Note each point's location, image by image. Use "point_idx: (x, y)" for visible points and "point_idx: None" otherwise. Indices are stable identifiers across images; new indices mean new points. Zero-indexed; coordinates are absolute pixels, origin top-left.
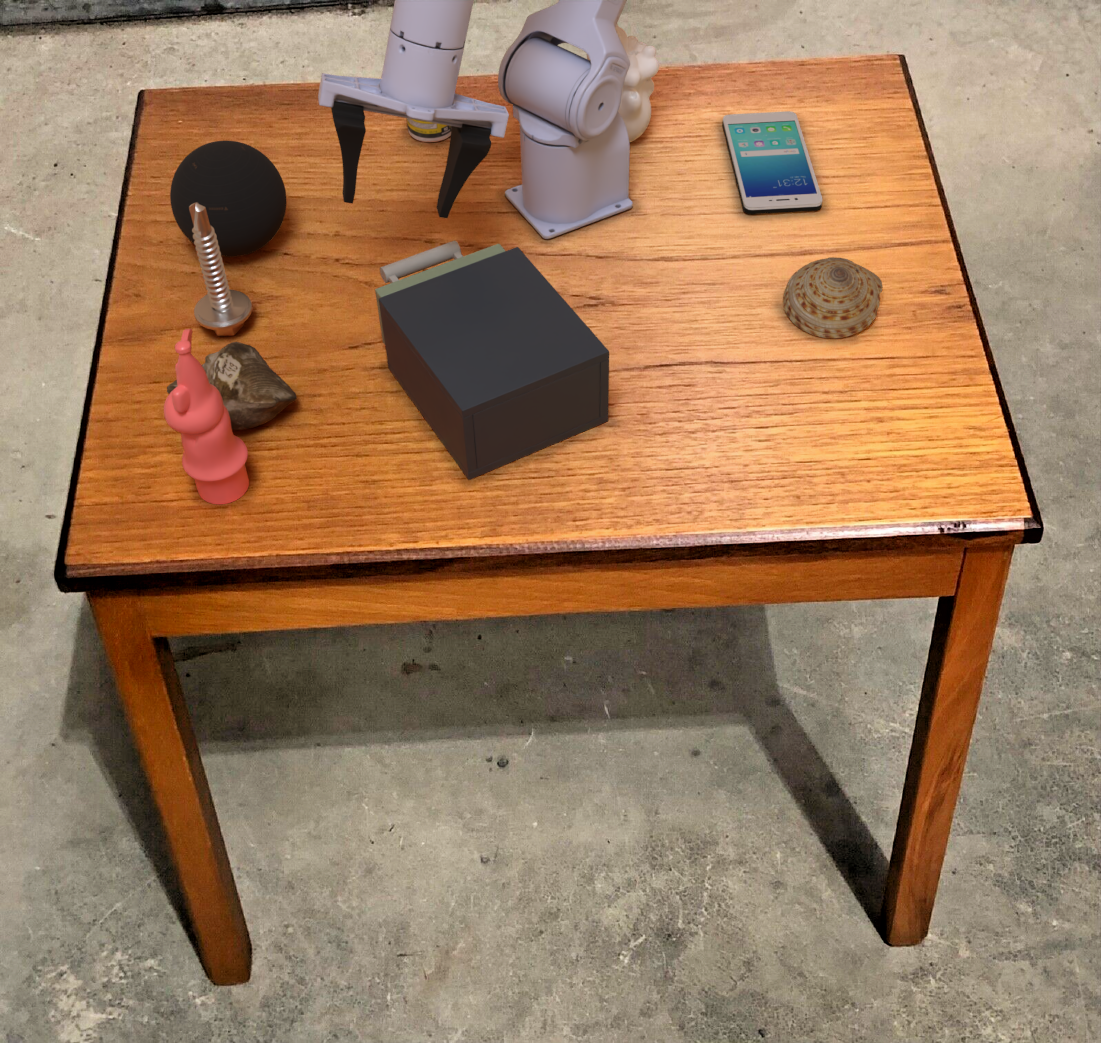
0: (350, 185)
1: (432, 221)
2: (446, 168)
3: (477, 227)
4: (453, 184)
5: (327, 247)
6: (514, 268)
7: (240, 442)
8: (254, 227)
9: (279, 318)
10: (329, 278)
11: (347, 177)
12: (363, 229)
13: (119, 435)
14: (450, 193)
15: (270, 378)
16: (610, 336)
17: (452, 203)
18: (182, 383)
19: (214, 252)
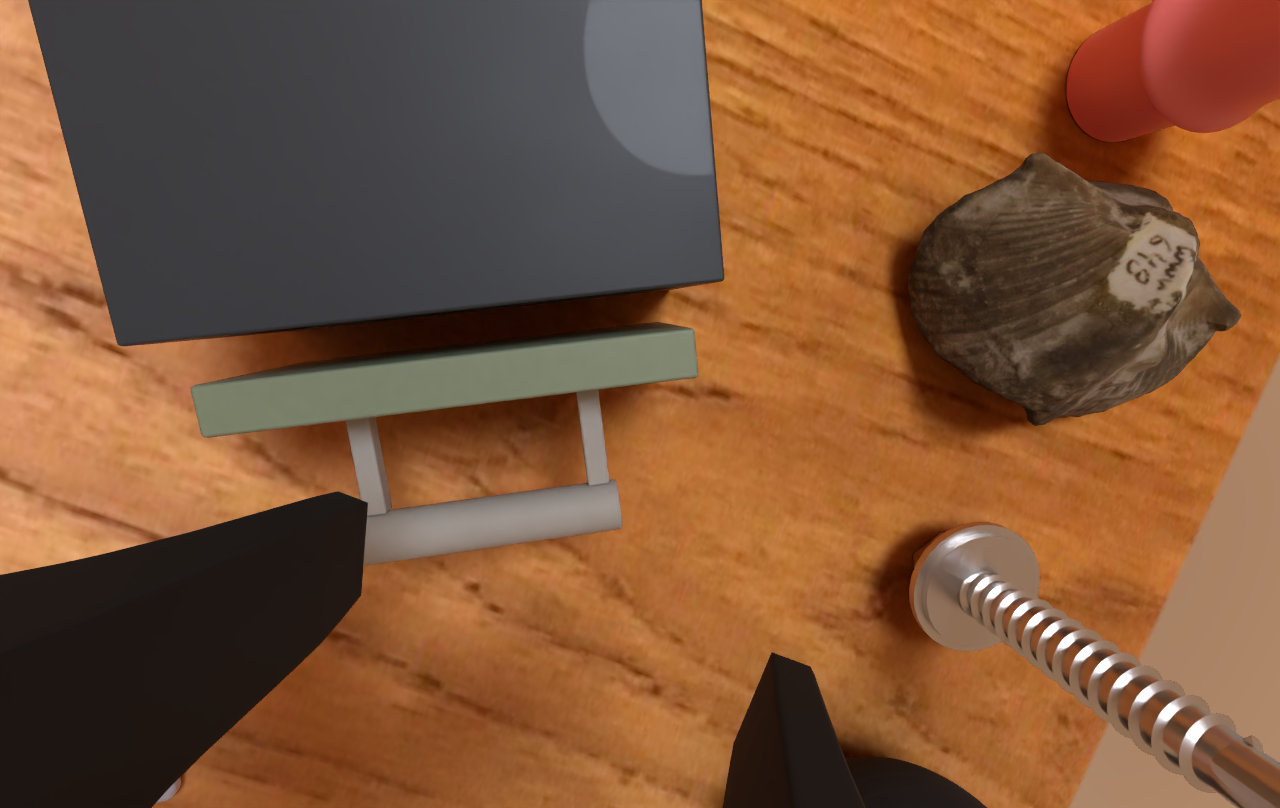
0: (812, 732)
1: (398, 750)
2: (179, 754)
3: (294, 694)
4: (164, 568)
5: (662, 739)
6: (170, 219)
7: (1165, 41)
8: (879, 805)
9: (835, 550)
10: (692, 638)
11: (846, 784)
12: (565, 772)
13: (1232, 332)
14: (229, 542)
15: (1009, 255)
16: (66, 151)
17: (259, 512)
18: None
19: (1130, 682)
